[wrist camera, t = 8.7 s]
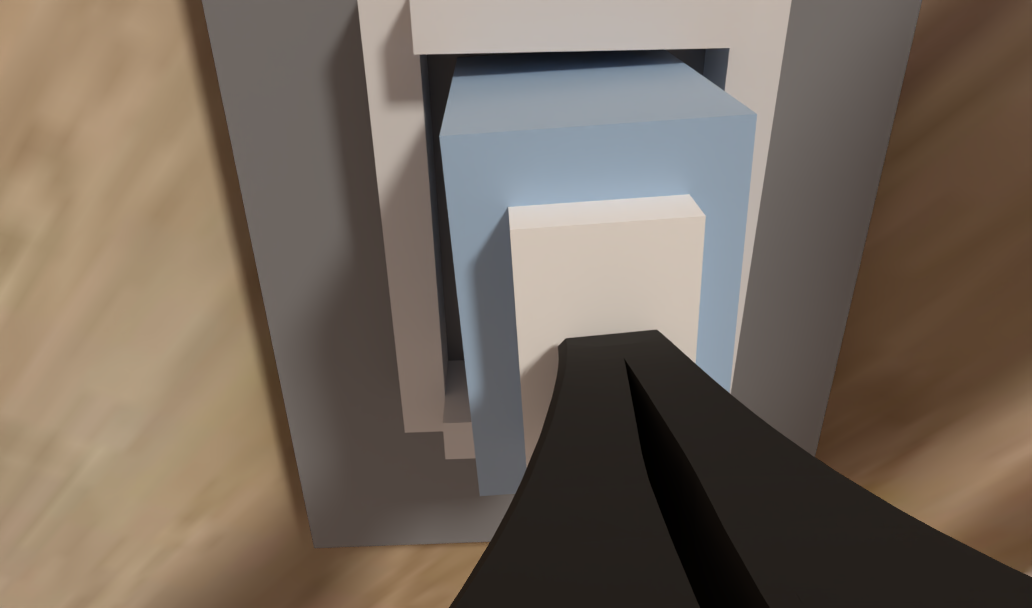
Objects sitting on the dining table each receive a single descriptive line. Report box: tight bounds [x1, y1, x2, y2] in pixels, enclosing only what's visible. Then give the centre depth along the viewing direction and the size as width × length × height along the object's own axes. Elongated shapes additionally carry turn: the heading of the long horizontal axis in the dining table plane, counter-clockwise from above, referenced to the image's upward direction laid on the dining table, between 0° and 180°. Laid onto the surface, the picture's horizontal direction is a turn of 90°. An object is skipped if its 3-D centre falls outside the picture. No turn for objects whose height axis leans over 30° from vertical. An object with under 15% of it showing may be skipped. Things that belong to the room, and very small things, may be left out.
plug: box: [439, 49, 757, 496], centre depth 13 cm, size 4×6×7 cm, turn 4°
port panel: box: [202, 0, 922, 548], centre depth 15 cm, size 14×20×4 cm
